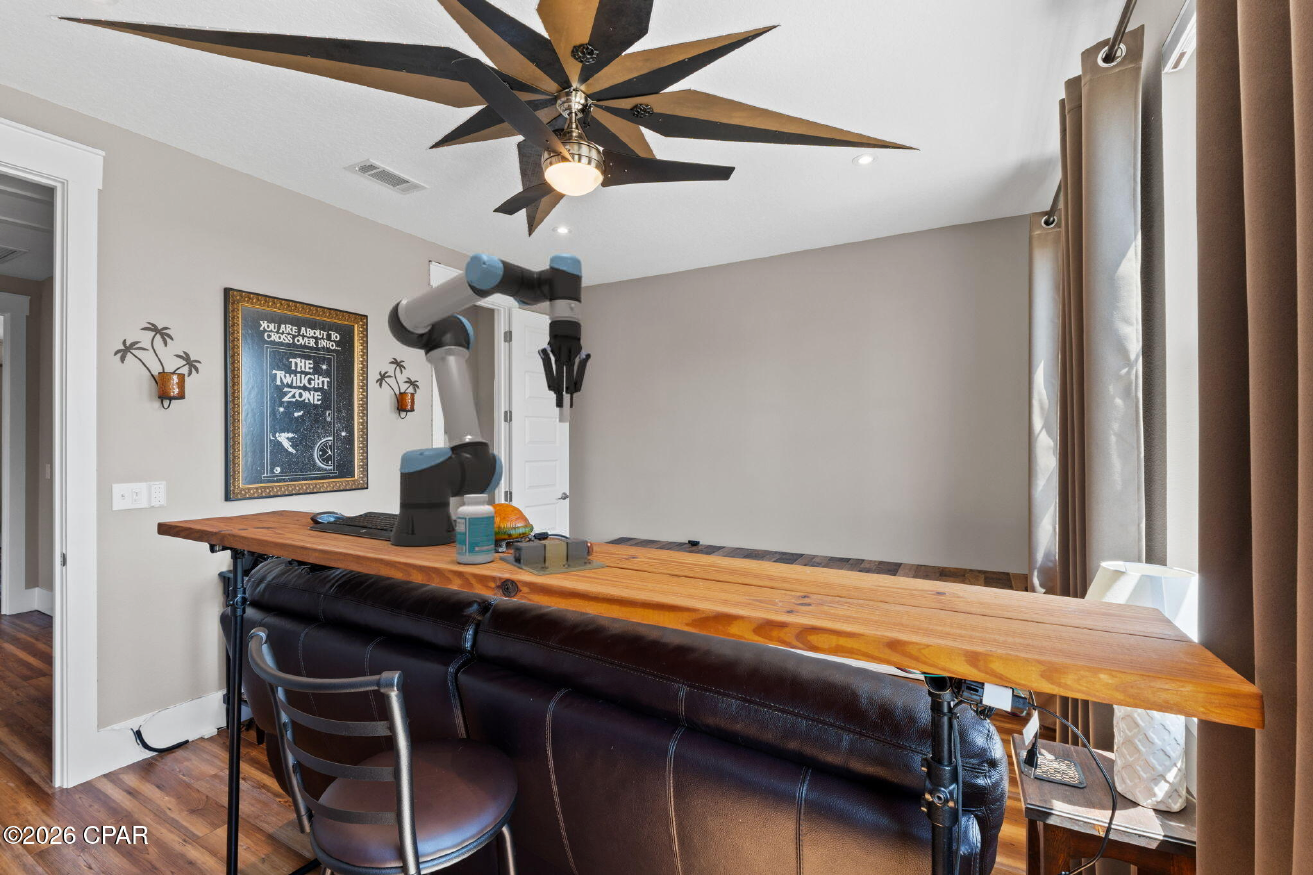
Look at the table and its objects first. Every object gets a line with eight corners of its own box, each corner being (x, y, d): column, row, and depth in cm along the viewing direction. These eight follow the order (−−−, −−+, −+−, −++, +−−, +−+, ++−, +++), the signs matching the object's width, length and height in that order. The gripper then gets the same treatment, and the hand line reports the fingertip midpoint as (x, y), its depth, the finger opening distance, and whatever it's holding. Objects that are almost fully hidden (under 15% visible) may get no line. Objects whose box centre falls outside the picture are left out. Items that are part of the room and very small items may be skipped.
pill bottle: (499, 558, 121) (500, 493, 121) (486, 565, 113) (487, 496, 114) (465, 557, 121) (466, 493, 122) (449, 564, 114) (450, 495, 115)
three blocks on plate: (499, 558, 120) (499, 538, 120) (560, 552, 128) (560, 533, 128) (538, 575, 104) (539, 551, 104) (606, 567, 112) (606, 545, 112)
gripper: (546, 314, 129) (545, 420, 128) (597, 322, 137) (596, 422, 136) (532, 321, 135) (531, 421, 134) (582, 328, 143) (581, 424, 142)
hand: (564, 422), depth 135 cm, fingers closed
